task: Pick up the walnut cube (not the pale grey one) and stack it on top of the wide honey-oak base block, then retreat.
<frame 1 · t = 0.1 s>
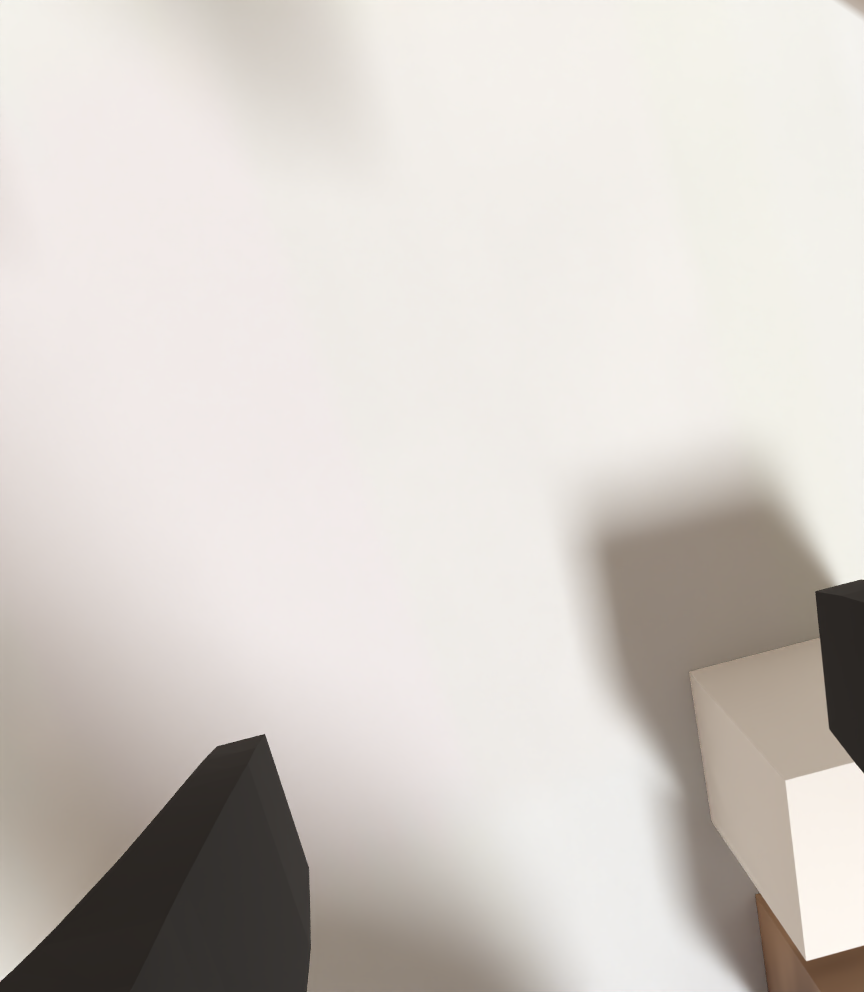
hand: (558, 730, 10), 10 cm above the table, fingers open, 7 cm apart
grey cube: (783, 725, 22), on the table
walnut cube: (838, 935, 24), on the table
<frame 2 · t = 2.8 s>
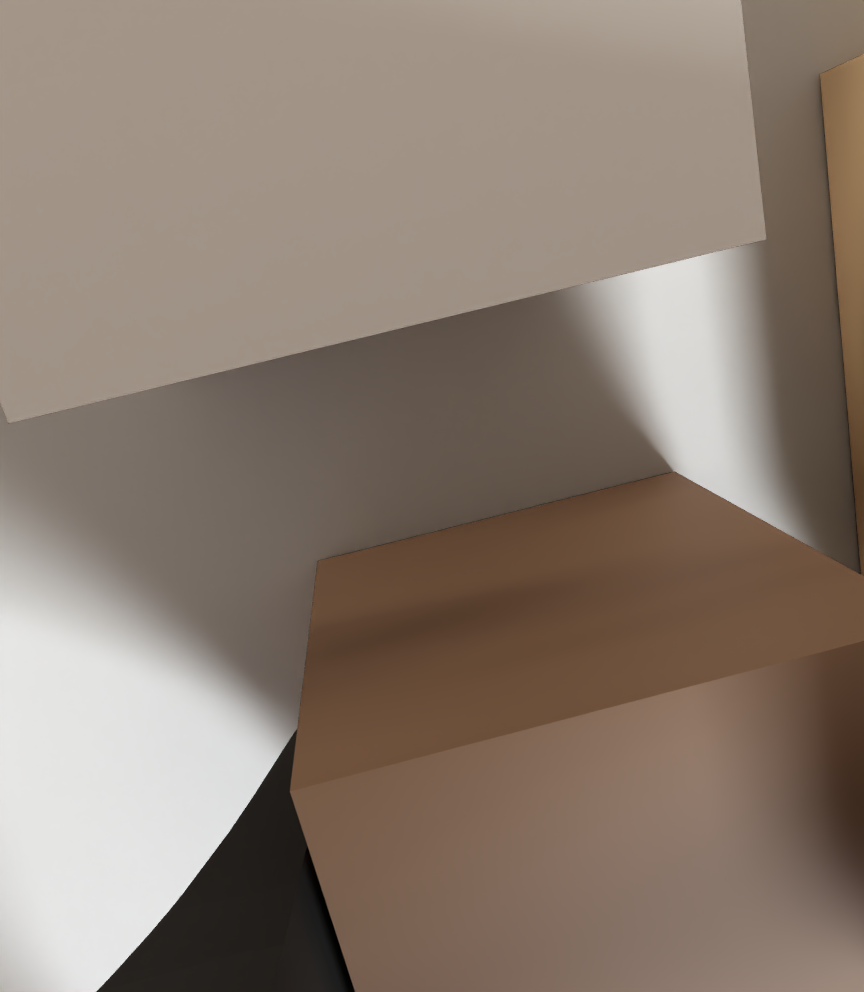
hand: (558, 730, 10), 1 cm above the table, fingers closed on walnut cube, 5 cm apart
grey cube: (319, 97, 9), on the table
walnut cube: (532, 677, 11), on the table, touching gripper
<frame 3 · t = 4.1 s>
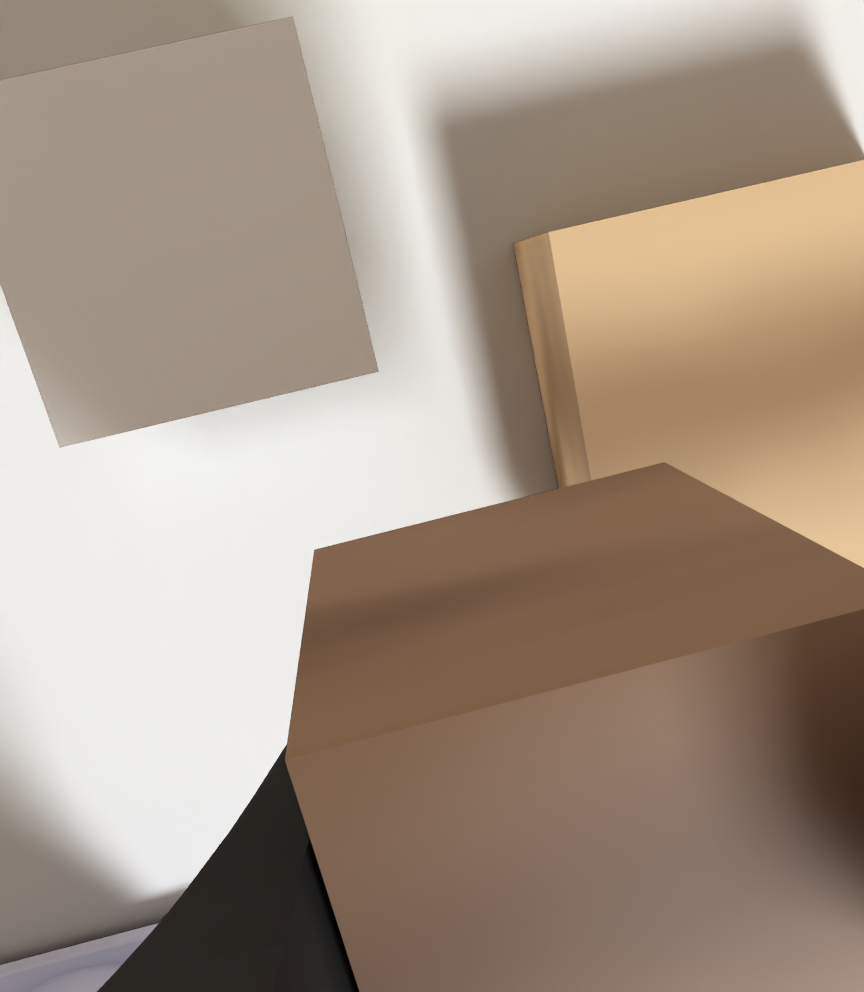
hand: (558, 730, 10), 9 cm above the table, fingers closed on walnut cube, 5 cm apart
grey cube: (223, 258, 16), on the table
oak base: (715, 384, 18), on the table
walnut cube: (525, 664, 11), point 7 cm above the table, touching gripper
when the fingers open (5 cm above the table, at t = 5.9 s): walnut cube stays where it is, resting on oak base.
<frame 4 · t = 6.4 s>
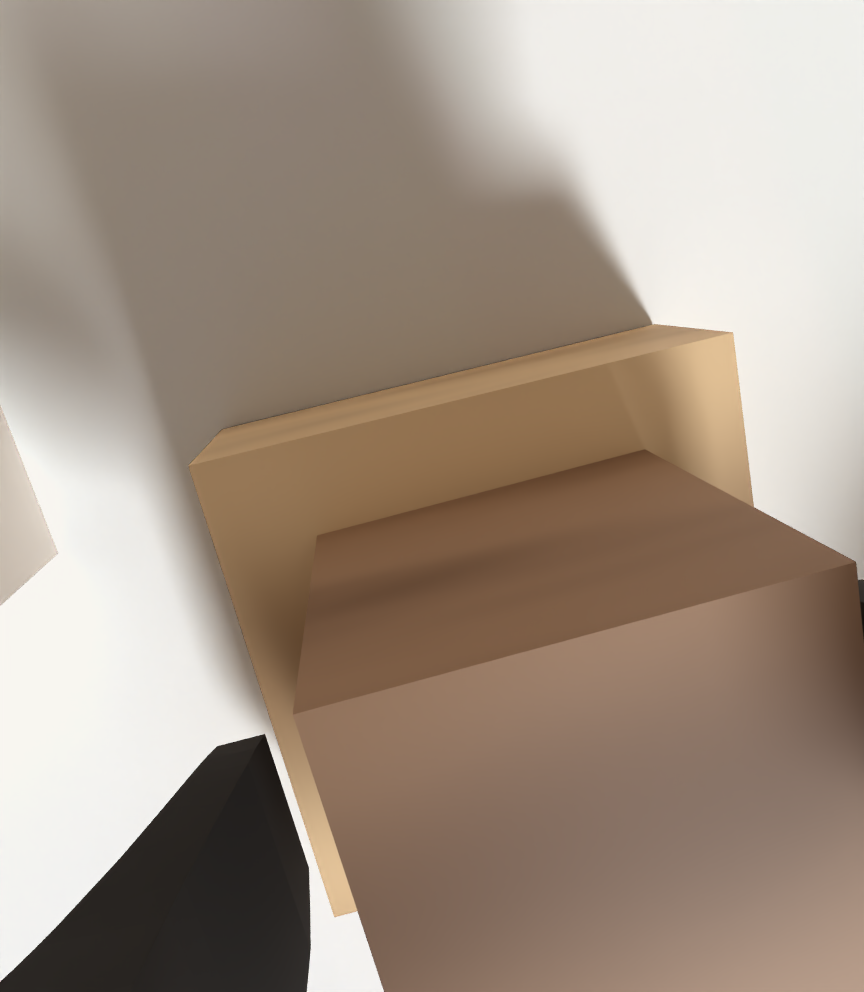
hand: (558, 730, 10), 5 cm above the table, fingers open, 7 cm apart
oak base: (486, 578, 15), on the table
walnut cube: (517, 642, 12), point 3 cm above the table, touching oak base
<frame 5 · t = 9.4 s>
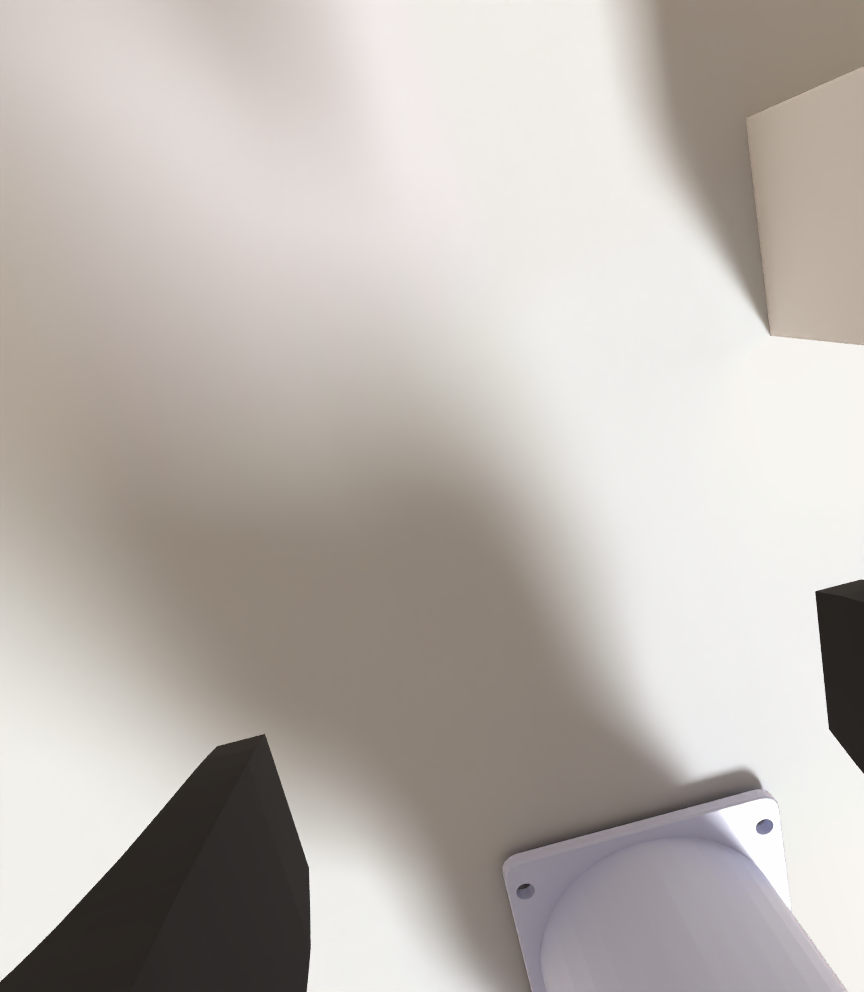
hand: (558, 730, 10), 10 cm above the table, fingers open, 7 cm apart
grey cube: (856, 206, 19), on the table
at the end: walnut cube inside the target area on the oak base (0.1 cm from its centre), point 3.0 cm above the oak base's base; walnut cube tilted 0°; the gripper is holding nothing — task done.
